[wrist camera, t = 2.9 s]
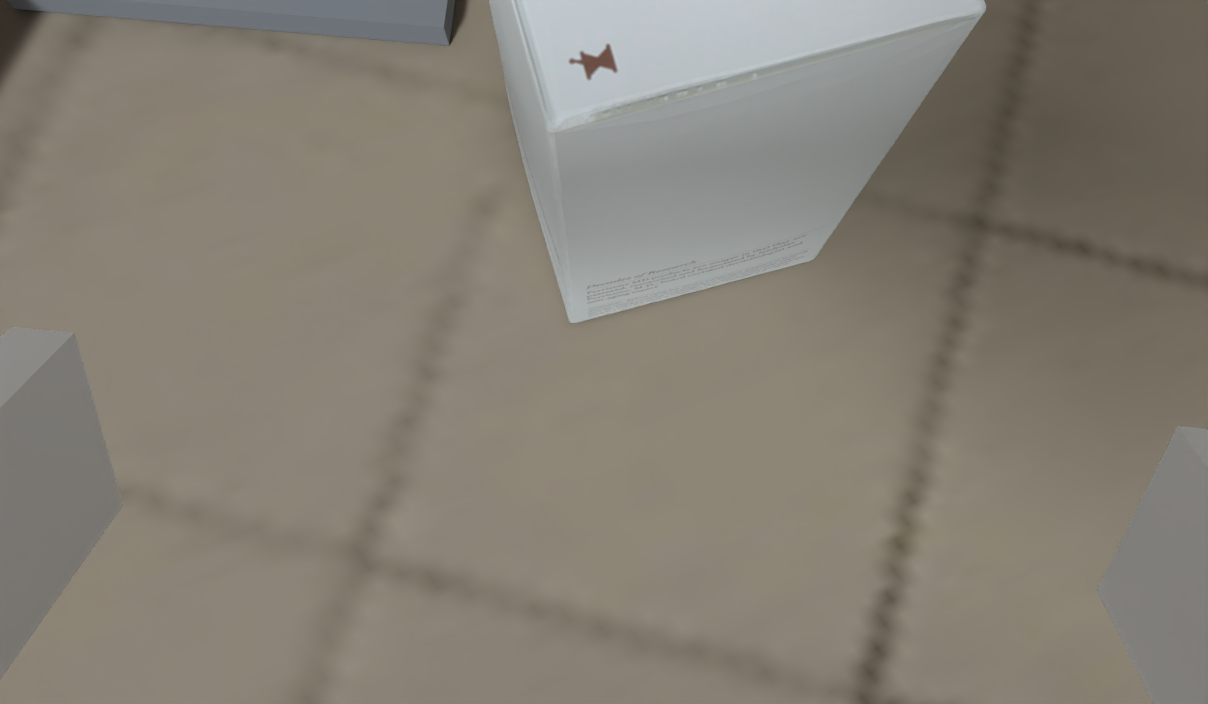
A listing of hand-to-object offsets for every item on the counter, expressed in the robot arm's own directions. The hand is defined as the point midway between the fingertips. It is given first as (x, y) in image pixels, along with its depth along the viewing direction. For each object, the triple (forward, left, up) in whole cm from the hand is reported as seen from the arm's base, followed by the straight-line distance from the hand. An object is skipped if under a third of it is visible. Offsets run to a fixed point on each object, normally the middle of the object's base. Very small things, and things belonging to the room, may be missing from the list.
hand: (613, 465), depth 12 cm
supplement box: (-1, -10, -14) cm, 17 cm away
